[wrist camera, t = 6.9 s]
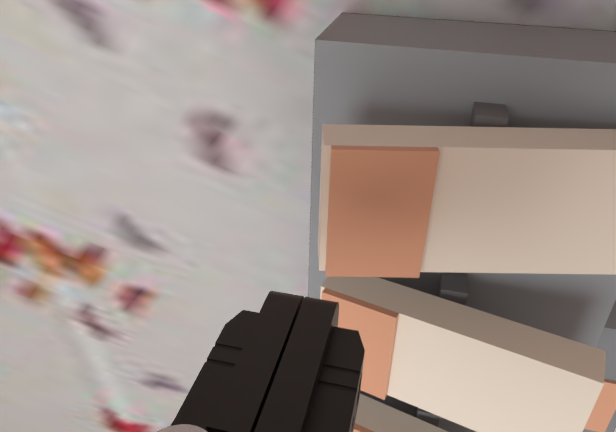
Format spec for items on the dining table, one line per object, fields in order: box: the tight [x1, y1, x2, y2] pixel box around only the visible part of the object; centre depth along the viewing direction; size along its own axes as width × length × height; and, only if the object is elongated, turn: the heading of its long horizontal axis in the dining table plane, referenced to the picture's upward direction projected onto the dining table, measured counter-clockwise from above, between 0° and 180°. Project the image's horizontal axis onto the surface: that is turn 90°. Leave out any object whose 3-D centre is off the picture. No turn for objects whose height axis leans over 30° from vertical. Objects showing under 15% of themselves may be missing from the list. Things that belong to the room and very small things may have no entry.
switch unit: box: [308, 13, 616, 432], centre depth 24 cm, size 16×22×6 cm
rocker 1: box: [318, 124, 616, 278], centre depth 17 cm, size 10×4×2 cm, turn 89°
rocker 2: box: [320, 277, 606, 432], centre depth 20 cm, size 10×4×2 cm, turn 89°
